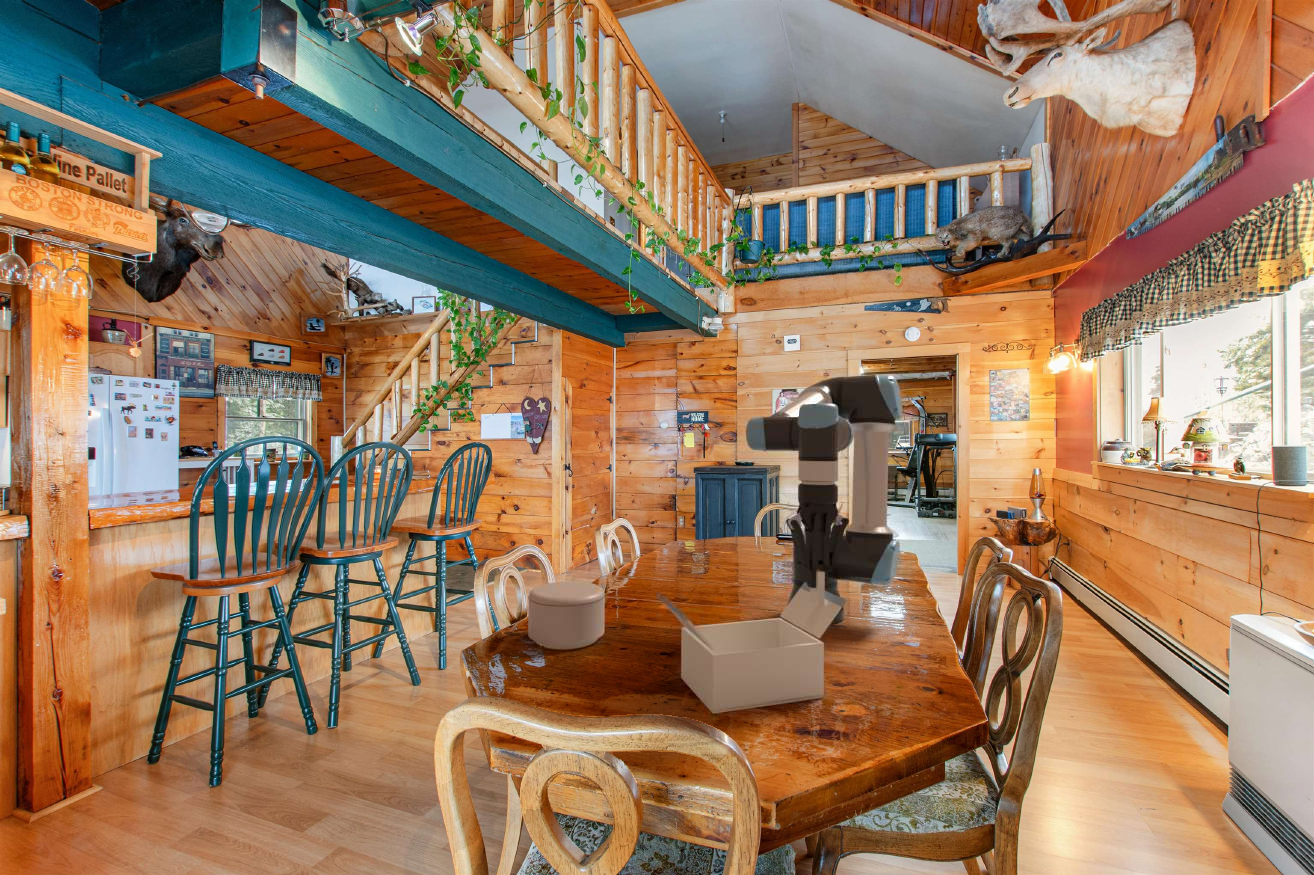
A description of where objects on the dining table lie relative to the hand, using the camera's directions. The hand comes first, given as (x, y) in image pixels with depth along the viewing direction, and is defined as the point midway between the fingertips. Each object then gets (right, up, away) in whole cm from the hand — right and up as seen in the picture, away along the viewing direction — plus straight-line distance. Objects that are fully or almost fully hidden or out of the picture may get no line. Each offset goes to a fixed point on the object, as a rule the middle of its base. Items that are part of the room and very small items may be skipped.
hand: (817, 603), depth 115 cm
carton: (-13, -15, -2) cm, 21 cm away
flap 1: (-26, -1, -6) cm, 27 cm away
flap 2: (-1, -1, +2) cm, 2 cm away
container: (-53, -16, +25) cm, 60 cm away
